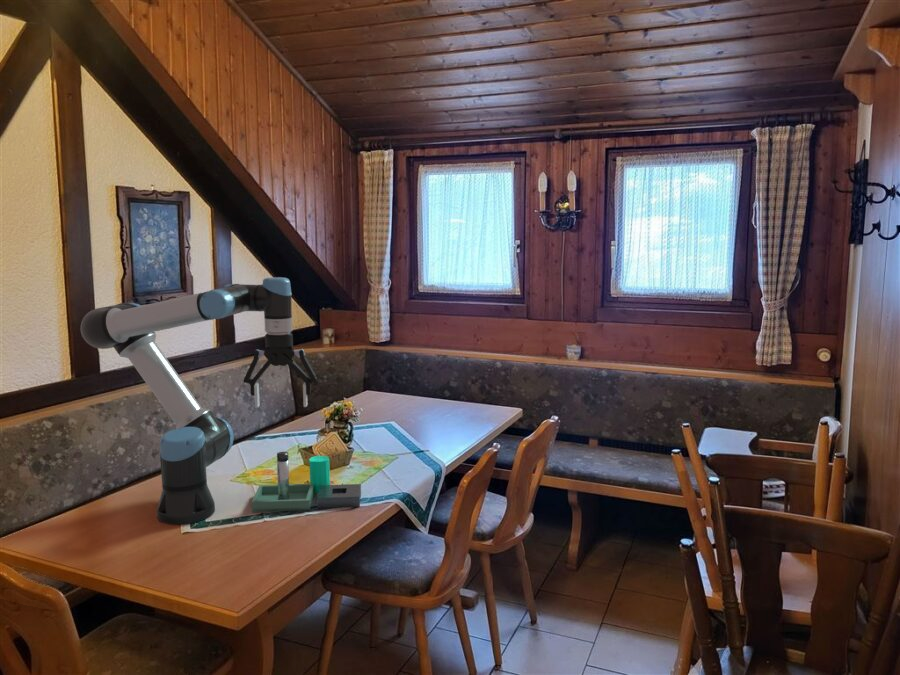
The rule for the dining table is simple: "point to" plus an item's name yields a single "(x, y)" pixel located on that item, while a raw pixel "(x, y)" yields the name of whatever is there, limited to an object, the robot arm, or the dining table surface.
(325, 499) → the block
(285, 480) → the pin
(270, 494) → the tray
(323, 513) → the dining table surface
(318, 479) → the candle
